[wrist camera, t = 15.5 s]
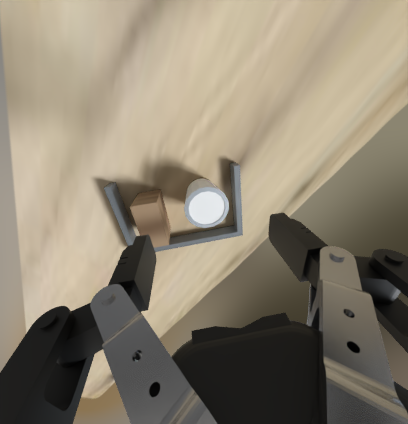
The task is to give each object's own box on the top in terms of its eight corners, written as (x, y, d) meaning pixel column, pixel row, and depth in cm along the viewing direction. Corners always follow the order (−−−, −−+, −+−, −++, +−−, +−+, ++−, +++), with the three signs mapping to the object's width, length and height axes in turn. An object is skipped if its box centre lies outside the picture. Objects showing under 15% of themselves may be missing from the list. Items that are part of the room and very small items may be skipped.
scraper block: (138, 193, 31) (129, 206, 25) (160, 189, 31) (156, 202, 26) (150, 230, 34) (145, 249, 29) (170, 226, 34) (168, 244, 29)
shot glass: (223, 202, 34) (233, 219, 27) (190, 214, 34) (193, 234, 27) (213, 169, 30) (222, 180, 24) (177, 182, 31) (177, 196, 24)
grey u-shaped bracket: (109, 183, 29) (103, 187, 27) (235, 162, 30) (239, 165, 28) (135, 248, 35) (132, 256, 33) (238, 228, 37) (242, 235, 34)
